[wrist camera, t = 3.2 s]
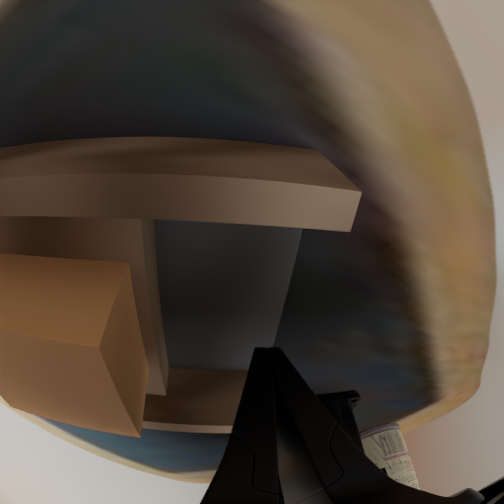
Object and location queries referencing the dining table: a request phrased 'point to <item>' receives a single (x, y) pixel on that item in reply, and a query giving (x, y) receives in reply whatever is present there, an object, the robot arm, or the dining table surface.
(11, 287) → the orange block
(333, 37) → the dining table surface
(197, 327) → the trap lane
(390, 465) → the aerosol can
